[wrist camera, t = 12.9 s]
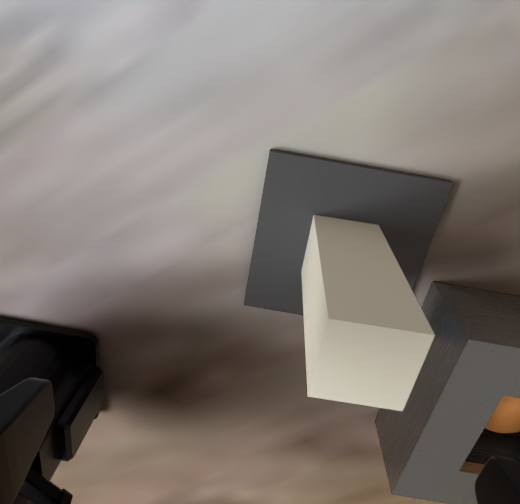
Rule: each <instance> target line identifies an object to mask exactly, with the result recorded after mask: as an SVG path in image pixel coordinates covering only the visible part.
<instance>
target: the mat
mask: <svg viewBox="0 0 520 504" xmlns="http://www.w3.org/2000/svg"><path fill="white" fill-rule="evenodd" d="M453 184H454V183H452V182H451V181H448V180H443V179H437V178H431V177H426V176H420V175H414V174H409V173H403V172H397V171H391V170H386V169H380V168H374V167H369V166H363V165H357V164H352V163H346V162H340V161H335V160H329V159H323V158H318V157H312V156H306V155H301V154H295V153H289V152H284V151H278V150H272V149H270V153H269V159H268V165H267V171H266V177H265V183H264V189H263V195H262V201H261V206H260V212H259V218H258V224H257V230H256V236H255V242H254V248H253V254H252V259H251V265H250V271H249V277H248V283H247V289H246V295H245V301H244V305H247V306H253V307H258V308H264V309H270V310H276V311H282V312H287V313H293V314H299V315H303V295H302V276H301V270H302V266H303V261H304V257H305V252H306V247H307V243H308V238H309V234H310V229H311V224H312V220H313V215H319V216H325V217H332V218H338V219H344V220H351V221H357V222H363V223H370V224H376V225H379V227H380V229H381V231H382V233H383V234H384V236H385V238H386V240H387V242H388V244H389V246H390V248H391V250H392V252H393V254H394V256H395V258H396V260H397V262H398V264H399V266H400V268H401V270H402V272H403V274H404V276H405V278H406V280H407V281H408V283H409V285H410V287H411V289H413V286H414V284H415V281H416V278H417V276H418V273H419V271H420V268H421V266H422V263H423V261H424V258H425V255H426V253H427V250H428V248H429V245H430V243H431V240H432V237H433V235H434V232H435V230H436V227H437V225H438V222H439V220H440V217H441V214H442V212H443V209H444V207H445V204H446V202H447V199H448V196H449V194H450V191H451V189H452V186H453Z"/></svg>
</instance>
